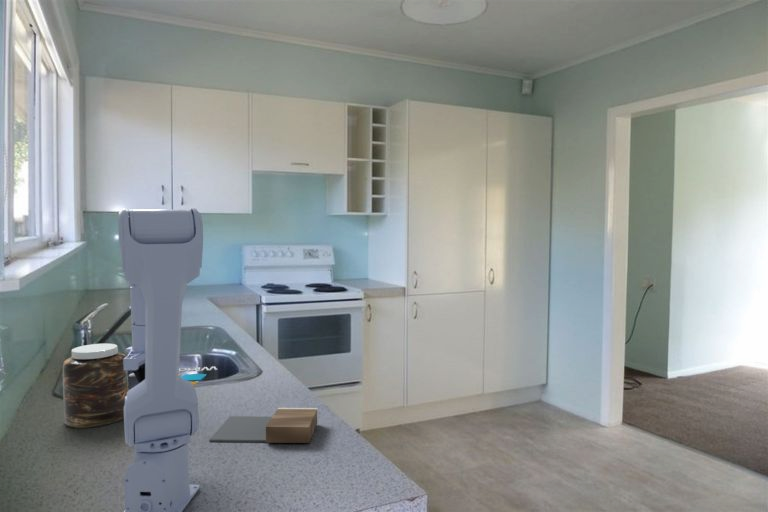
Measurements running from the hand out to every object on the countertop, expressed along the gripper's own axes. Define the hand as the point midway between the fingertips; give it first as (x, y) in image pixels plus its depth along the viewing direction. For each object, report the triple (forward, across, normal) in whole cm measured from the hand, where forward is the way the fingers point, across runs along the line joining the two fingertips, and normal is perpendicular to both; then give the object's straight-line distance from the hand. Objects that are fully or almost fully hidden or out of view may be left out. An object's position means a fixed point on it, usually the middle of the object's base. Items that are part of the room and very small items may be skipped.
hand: (152, 400), depth 93 cm
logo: (+11, -46, -17) cm, 50 cm away
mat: (+10, -14, +16) cm, 23 cm away
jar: (+11, -19, -21) cm, 30 cm away
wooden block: (+8, -6, +22) cm, 24 cm away
